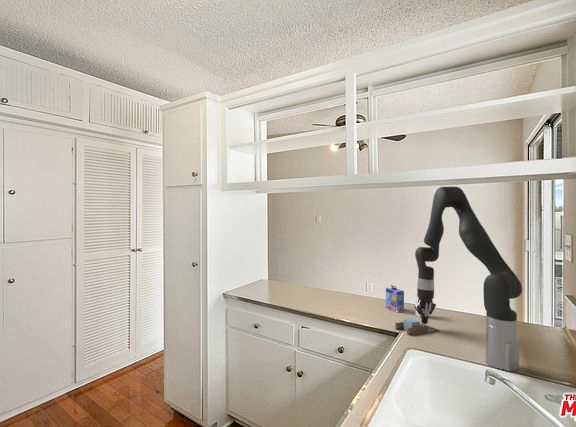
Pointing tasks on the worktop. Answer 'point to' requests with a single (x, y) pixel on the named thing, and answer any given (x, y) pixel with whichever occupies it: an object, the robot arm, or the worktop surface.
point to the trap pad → (430, 328)
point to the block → (410, 323)
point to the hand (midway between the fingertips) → (424, 323)
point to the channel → (412, 328)
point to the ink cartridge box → (394, 299)
